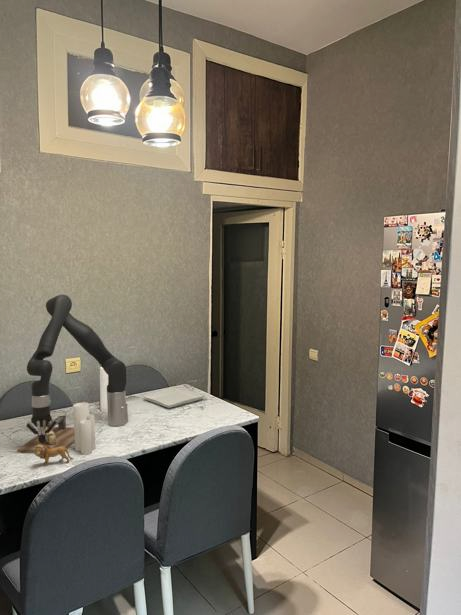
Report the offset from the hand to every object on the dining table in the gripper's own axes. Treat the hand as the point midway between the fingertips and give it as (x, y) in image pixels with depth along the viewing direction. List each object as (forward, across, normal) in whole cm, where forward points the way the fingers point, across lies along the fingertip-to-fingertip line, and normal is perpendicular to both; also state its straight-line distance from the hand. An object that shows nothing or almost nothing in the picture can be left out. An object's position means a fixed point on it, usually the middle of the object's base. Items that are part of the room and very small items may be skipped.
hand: (42, 442), depth 205 cm
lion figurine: (+3, +5, -20) cm, 21 cm away
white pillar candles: (+2, +18, -10) cm, 21 cm away
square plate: (+1, +71, +48) cm, 86 cm away
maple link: (0, +3, +6) cm, 6 cm away
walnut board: (+2, +5, +7) cm, 9 cm away
